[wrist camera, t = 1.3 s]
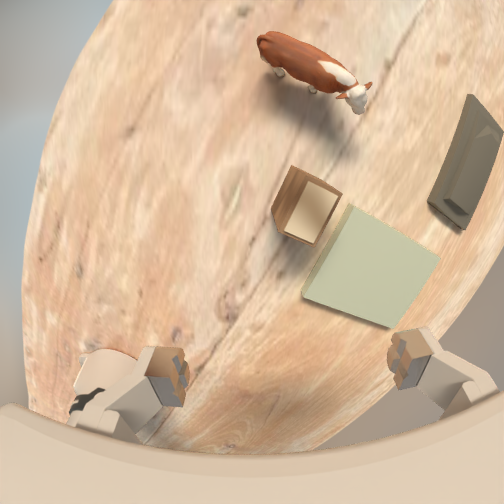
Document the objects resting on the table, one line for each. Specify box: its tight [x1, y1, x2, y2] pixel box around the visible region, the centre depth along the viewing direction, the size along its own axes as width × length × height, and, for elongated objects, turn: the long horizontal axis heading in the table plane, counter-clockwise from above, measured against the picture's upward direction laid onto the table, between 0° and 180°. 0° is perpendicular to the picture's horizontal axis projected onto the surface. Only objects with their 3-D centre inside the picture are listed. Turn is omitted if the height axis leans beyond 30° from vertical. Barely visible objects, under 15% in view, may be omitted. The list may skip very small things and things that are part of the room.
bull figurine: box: [257, 31, 372, 115], centre depth 24 cm, size 4×13×8 cm, turn 57°
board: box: [301, 203, 441, 329], centre depth 38 cm, size 14×18×2 cm
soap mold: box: [427, 94, 504, 230], centre depth 30 cm, size 10×20×4 cm, turn 156°
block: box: [271, 165, 342, 247], centre depth 30 cm, size 6×4×9 cm, turn 156°
